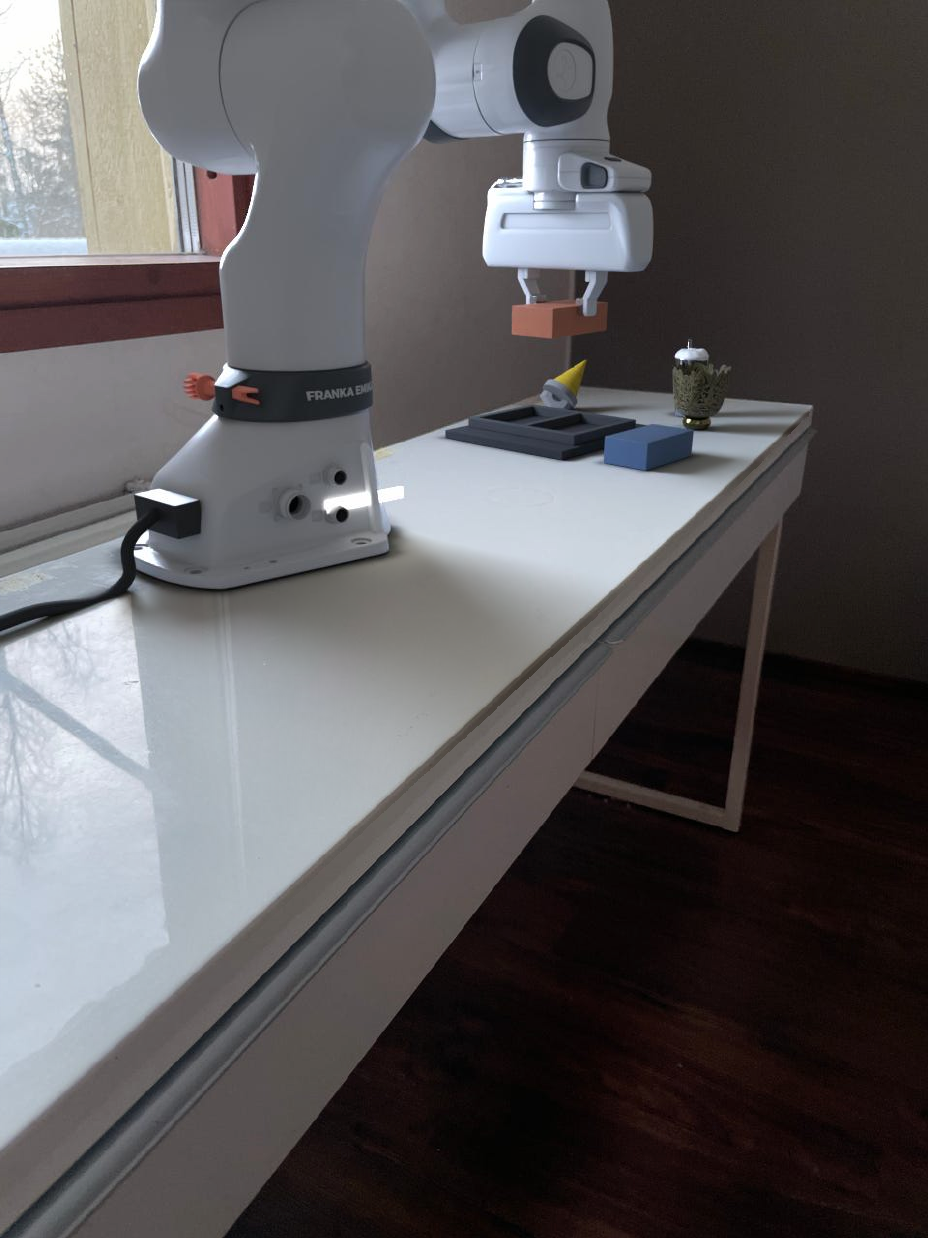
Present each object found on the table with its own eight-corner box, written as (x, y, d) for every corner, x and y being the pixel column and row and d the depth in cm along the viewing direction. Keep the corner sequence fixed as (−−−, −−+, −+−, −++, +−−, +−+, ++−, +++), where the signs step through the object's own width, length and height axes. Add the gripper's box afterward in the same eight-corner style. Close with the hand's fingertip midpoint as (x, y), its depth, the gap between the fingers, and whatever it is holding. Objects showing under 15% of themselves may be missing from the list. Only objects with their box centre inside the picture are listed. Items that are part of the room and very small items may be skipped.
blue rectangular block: (645, 470, 103) (647, 443, 102) (603, 463, 106) (604, 436, 105) (691, 455, 110) (694, 429, 109) (650, 448, 113) (652, 423, 112)
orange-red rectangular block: (552, 338, 100) (553, 308, 98) (511, 334, 103) (512, 305, 102) (606, 330, 106) (607, 302, 105) (566, 326, 110) (567, 299, 109)
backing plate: (561, 460, 108) (562, 440, 107) (445, 437, 119) (445, 420, 118) (654, 433, 122) (656, 416, 121) (542, 416, 133) (542, 400, 132)
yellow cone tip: (531, 411, 138) (570, 359, 140) (562, 430, 137) (601, 377, 139) (530, 394, 133) (571, 340, 135) (562, 413, 132) (602, 358, 133)
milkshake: (699, 411, 137) (706, 339, 133) (704, 418, 132) (712, 343, 128) (667, 410, 137) (673, 338, 133) (671, 417, 132) (678, 342, 128)
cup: (655, 427, 125) (660, 365, 122) (688, 420, 130) (694, 360, 127) (703, 436, 120) (710, 371, 117) (736, 428, 125) (743, 366, 122)
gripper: (470, 176, 103) (470, 310, 108) (631, 169, 90) (622, 322, 95) (507, 177, 107) (506, 306, 112) (666, 171, 94) (655, 317, 100)
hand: (560, 313), depth 104 cm, fingers closed on orange-red rectangular block, 5 cm apart
